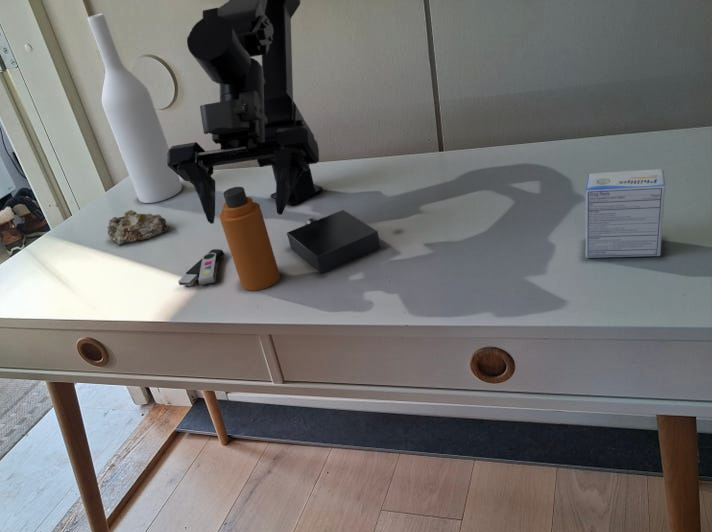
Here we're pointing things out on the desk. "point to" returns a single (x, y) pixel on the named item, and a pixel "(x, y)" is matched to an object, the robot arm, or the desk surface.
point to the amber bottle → (248, 240)
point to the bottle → (134, 123)
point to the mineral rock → (135, 227)
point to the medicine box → (624, 213)
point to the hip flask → (333, 241)
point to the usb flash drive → (203, 269)
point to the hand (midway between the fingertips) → (244, 218)
